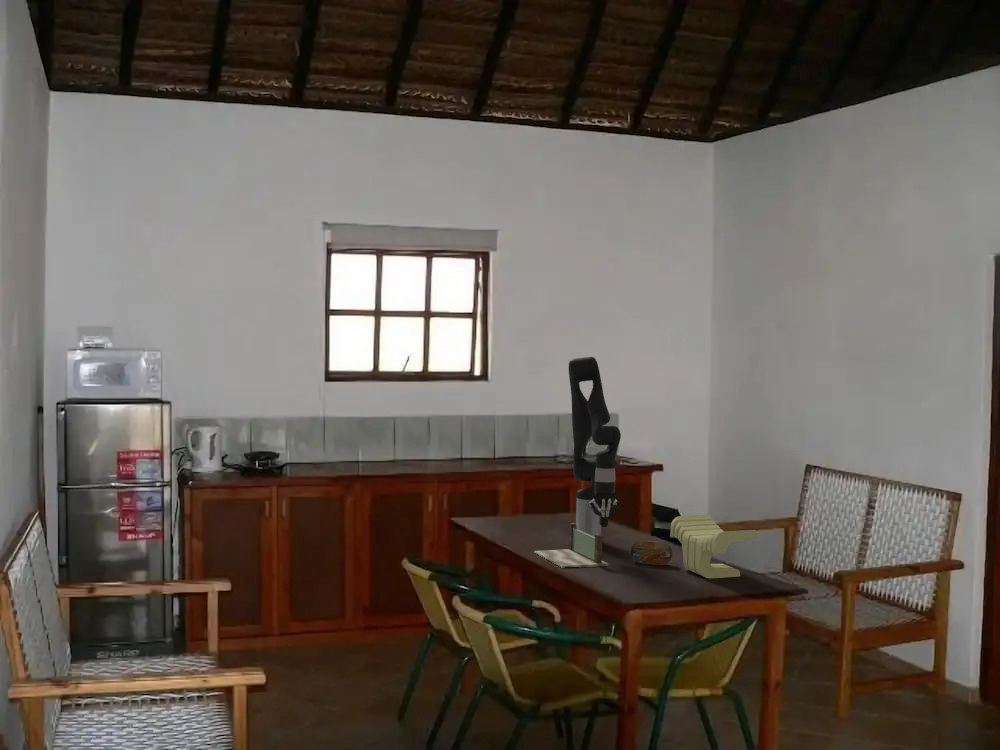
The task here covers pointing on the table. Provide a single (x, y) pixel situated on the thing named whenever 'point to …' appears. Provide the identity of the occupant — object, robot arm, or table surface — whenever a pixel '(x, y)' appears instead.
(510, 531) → the table surface
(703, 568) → the pale yellow c-shaped piece
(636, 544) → the tin
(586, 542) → the gate
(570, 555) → the gate frame
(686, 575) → the table surface
